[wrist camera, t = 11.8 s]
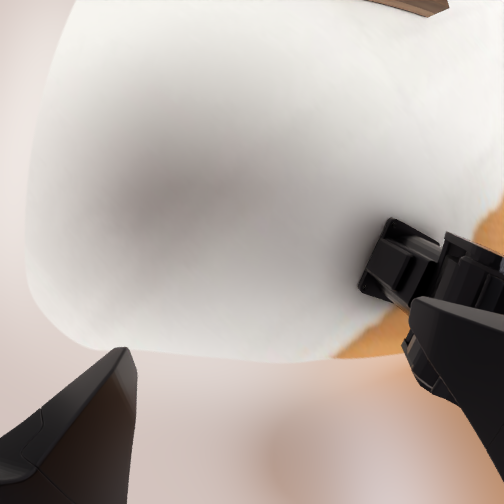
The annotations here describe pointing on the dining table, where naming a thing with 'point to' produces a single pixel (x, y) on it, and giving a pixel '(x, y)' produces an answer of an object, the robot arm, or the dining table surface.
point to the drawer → (418, 6)
